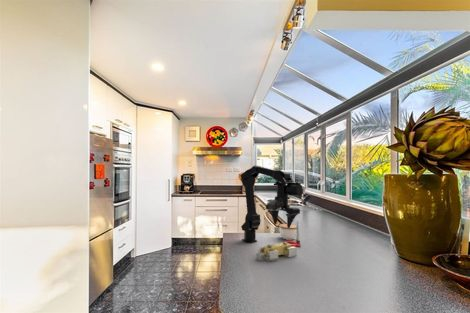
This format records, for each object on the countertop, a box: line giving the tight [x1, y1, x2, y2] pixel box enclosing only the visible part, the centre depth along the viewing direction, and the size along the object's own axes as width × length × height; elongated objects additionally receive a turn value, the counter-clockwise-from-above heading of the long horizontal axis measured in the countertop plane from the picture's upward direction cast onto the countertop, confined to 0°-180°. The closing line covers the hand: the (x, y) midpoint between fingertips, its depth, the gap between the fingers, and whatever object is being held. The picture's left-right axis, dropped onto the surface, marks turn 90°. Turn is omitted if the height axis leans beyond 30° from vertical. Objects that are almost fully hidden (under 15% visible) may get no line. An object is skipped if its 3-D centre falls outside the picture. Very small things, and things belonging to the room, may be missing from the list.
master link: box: [263, 241, 292, 257], centre depth 111 cm, size 4×14×5 cm, turn 124°
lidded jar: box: [278, 223, 297, 241], centre depth 144 cm, size 11×11×9 cm
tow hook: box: [284, 221, 302, 247], centre depth 131 cm, size 8×13×9 cm
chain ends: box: [256, 246, 298, 263], centre depth 111 cm, size 8×23×4 cm, turn 124°
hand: (281, 225), depth 119 cm, fingers open, 9 cm apart
